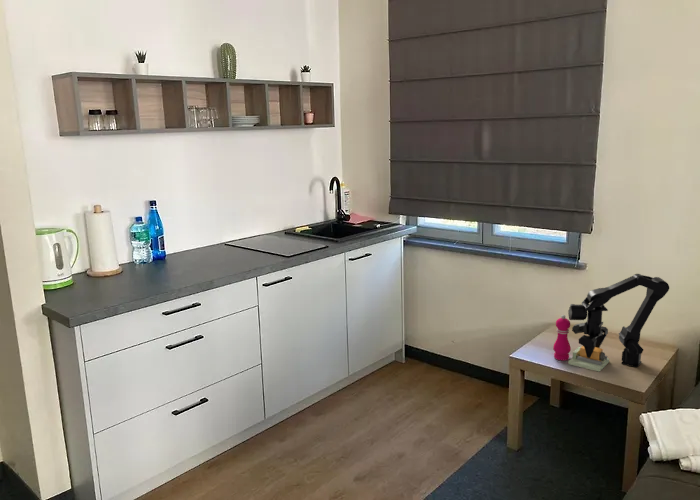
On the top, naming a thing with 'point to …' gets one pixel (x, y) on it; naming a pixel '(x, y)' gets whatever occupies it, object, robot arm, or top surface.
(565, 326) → the pepper mill
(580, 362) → the pale green tray
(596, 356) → the orange tapered block
